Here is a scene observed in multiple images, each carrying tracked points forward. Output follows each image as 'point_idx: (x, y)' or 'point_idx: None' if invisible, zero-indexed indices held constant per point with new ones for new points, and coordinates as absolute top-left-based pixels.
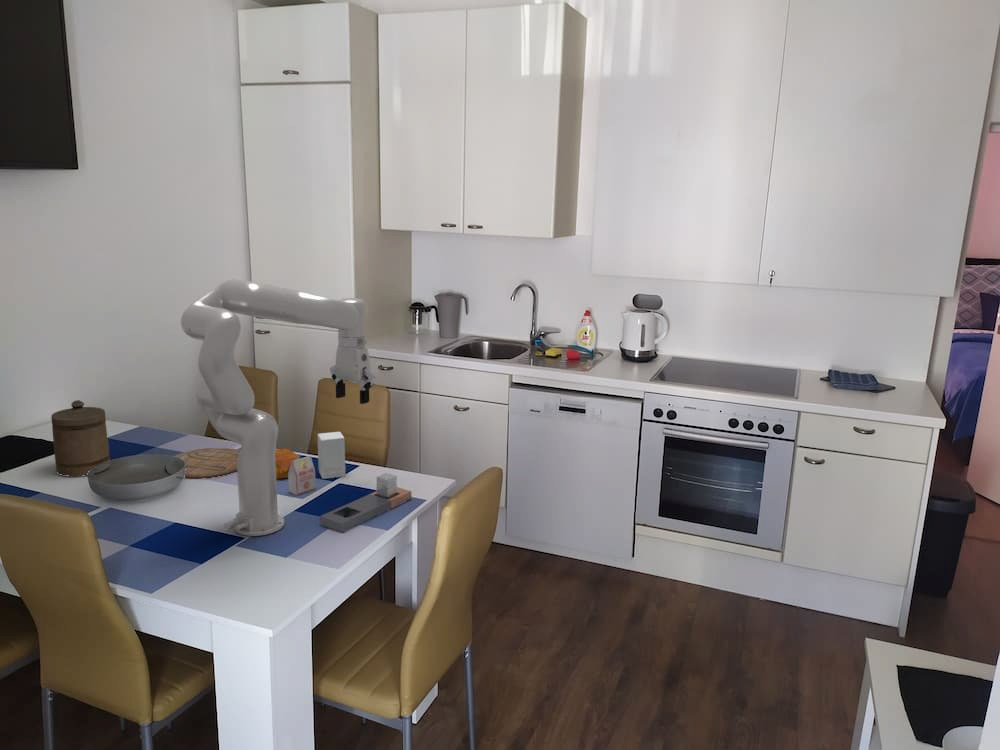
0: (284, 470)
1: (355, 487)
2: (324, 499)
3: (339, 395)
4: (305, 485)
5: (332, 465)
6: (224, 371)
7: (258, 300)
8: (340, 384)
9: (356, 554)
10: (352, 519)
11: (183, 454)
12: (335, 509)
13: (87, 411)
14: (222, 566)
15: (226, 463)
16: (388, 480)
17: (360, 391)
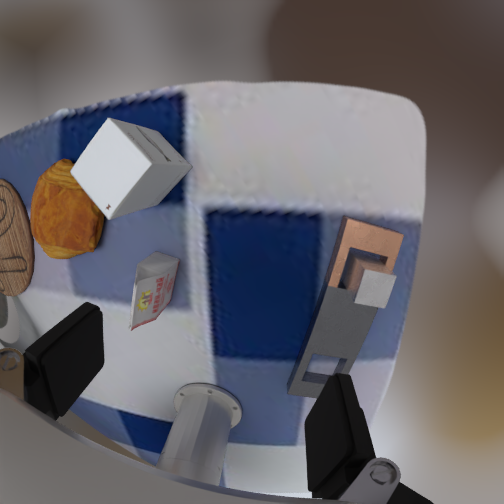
0: (92, 247)
1: (252, 216)
2: (229, 299)
3: (96, 362)
4: (169, 287)
5: (161, 190)
6: None
7: None
8: (48, 397)
9: (372, 418)
10: None
11: None
12: (298, 368)
13: None
14: (244, 465)
15: (13, 238)
16: (385, 304)
17: (317, 492)
